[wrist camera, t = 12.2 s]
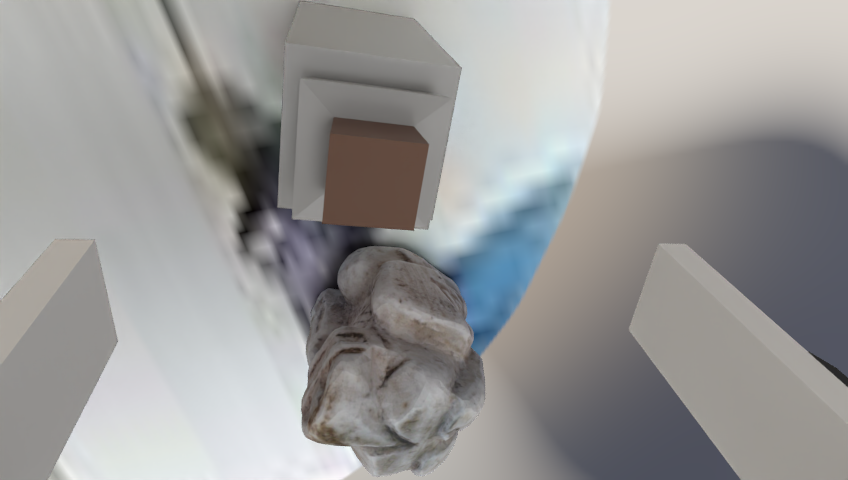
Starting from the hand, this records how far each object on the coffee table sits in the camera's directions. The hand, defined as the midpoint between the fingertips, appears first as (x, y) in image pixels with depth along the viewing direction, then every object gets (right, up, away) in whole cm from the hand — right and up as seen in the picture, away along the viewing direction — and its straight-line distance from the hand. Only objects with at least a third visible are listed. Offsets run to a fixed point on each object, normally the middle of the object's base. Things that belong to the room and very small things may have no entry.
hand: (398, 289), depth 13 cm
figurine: (-3, -3, +30) cm, 30 cm away
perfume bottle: (-4, +12, +21) cm, 24 cm away
